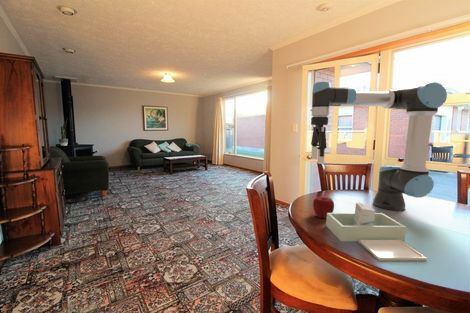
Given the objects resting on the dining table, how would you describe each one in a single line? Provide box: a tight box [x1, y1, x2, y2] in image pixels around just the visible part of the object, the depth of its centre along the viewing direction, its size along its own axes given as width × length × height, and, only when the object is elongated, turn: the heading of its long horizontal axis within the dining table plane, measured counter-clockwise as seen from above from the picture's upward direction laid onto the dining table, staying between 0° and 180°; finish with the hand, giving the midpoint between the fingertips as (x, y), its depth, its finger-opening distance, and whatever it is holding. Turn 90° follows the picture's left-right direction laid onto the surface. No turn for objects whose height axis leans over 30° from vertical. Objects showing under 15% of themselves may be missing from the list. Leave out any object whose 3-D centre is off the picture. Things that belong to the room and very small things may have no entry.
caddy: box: [325, 212, 407, 242], centre depth 95 cm, size 25×14×6 cm, turn 91°
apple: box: [312, 196, 335, 219], centre depth 112 cm, size 10×10×10 cm
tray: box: [358, 240, 428, 262], centre depth 82 cm, size 16×12×1 cm
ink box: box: [353, 202, 376, 226], centre depth 95 cm, size 9×5×12 cm, turn 168°
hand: (317, 161), depth 110 cm, fingers open, 13 cm apart
